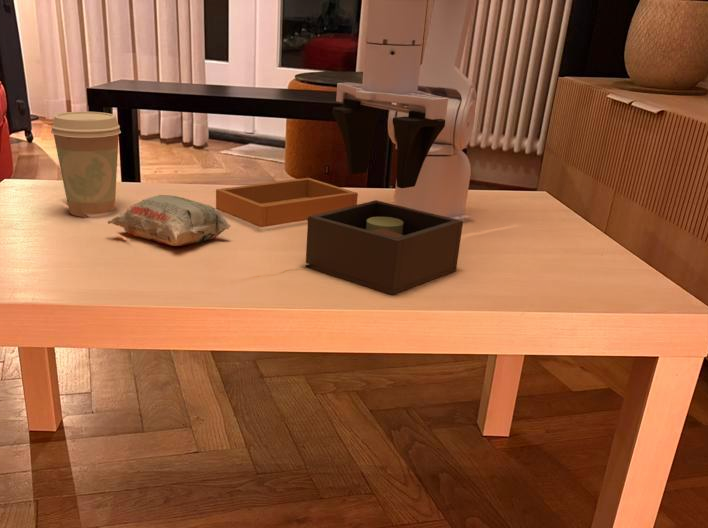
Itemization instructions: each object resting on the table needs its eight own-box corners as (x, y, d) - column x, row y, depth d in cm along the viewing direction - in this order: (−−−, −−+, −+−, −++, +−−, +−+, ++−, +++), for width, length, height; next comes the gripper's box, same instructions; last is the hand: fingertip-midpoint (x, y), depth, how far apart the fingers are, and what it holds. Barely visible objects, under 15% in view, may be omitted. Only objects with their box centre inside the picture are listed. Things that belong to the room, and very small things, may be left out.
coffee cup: (46, 216, 98) (36, 118, 92) (76, 201, 105) (68, 109, 100) (109, 222, 96) (103, 122, 91) (135, 206, 104) (130, 113, 98)
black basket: (371, 246, 91) (375, 199, 88) (456, 270, 84) (463, 220, 81) (305, 266, 83) (307, 216, 81) (392, 295, 76) (398, 240, 74)
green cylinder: (382, 249, 88) (386, 214, 86) (407, 258, 85) (411, 223, 83) (356, 254, 86) (359, 219, 84) (380, 264, 83) (384, 228, 81)
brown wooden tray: (307, 198, 111) (308, 177, 110) (356, 215, 104) (358, 192, 102) (215, 211, 103) (215, 189, 102) (261, 230, 95) (261, 206, 94)
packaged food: (177, 260, 84) (176, 215, 81) (107, 238, 90) (105, 195, 88) (232, 245, 90) (232, 202, 87) (163, 225, 96) (162, 185, 94)
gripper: (317, 39, 81) (311, 170, 87) (417, 49, 70) (401, 198, 77) (367, 38, 85) (358, 164, 91) (469, 48, 74) (450, 190, 80)
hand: (381, 179), depth 84 cm, fingers open, 7 cm apart
